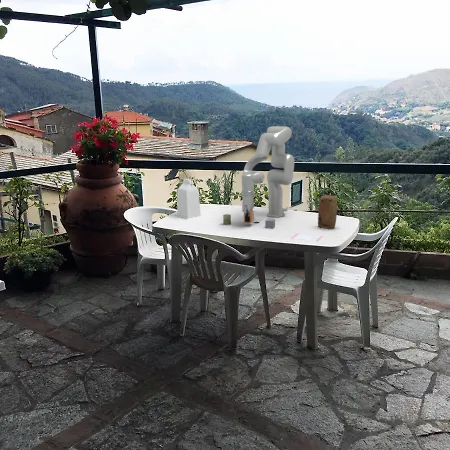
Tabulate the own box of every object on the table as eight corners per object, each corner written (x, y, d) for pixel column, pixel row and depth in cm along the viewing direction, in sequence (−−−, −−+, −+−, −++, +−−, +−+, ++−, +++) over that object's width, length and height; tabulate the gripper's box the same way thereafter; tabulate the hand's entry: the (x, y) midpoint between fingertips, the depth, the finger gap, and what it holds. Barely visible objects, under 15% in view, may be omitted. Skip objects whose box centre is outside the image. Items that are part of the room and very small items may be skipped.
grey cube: (267, 226, 286) (267, 218, 285) (275, 226, 285) (275, 219, 283) (265, 228, 282) (265, 220, 280) (273, 228, 280) (273, 221, 279)
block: (337, 227, 280) (338, 195, 274) (333, 230, 273) (334, 197, 268) (320, 224, 285) (321, 193, 280) (316, 227, 279) (316, 196, 274)
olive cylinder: (228, 222, 297) (227, 213, 295) (232, 224, 293) (232, 215, 291) (221, 223, 294) (221, 215, 292) (226, 225, 290) (226, 216, 288)
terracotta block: (246, 220, 291) (246, 210, 289) (253, 221, 289) (253, 210, 287) (243, 222, 287) (243, 212, 285) (251, 223, 285) (251, 212, 283)
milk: (177, 216, 317) (175, 179, 310) (190, 213, 325) (188, 177, 318) (187, 219, 309) (185, 181, 302) (200, 215, 316) (199, 179, 309)
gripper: (246, 190, 292) (247, 217, 297) (237, 195, 276) (238, 224, 282) (257, 190, 289) (258, 217, 294) (249, 196, 274) (250, 225, 279)
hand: (248, 220), depth 288 cm, fingers closed on terracotta block, 5 cm apart
